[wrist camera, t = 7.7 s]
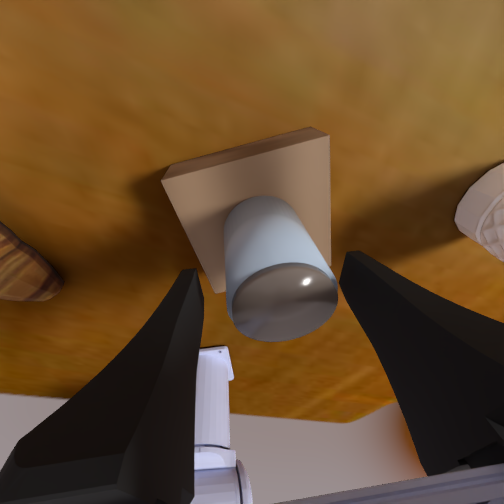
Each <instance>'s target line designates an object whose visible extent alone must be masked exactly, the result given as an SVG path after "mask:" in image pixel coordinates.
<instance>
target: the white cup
mask: <svg viewBox="0 0 504 504" xmlns="http://www.w3.org/2000/svg"><path fill="white" fill-rule="evenodd" d="M454 221H455V223H456V225H457V227H458V229H459V231H460V232H462V233H463V234H465V235H466V236H468V237H469V238H471V239H472V240H474V241H475V242H477V243H479V244H480V245H482V246H483V247H484V248H485V249H486V250H487V251H489V252H490V253H491V254H492V255H493V256H495V257H496V258H498V259H499V260H501V261H503V262H504V163H502V164H500V165H498V166H497V167H495V168H493V169H491V170H489V171H488V172H487V173H486V174H484V175H483V176H482V177H481V178H480V179H479V180H478V181H476V182H475V183H474V184H473V185H472V186H471V187H470V188H469V189H468V191H467V192H466V194H465V195H464V197H463V198H462V200H461V201H460V203H459V204H458V206H457V210H456V215H455V219H454Z"/></svg>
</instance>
